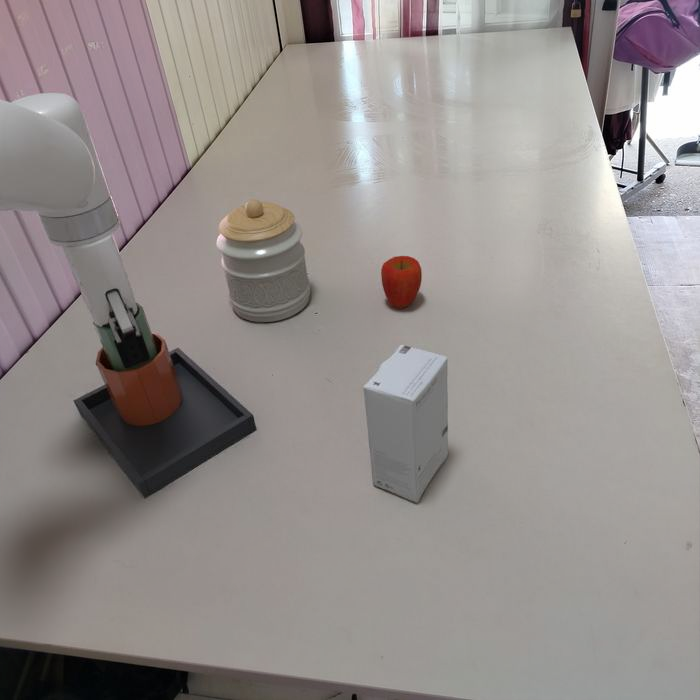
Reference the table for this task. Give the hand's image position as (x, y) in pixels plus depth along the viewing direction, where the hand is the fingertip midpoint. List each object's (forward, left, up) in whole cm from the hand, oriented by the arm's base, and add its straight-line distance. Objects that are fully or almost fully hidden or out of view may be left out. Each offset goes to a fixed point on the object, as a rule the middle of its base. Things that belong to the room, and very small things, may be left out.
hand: (129, 348), depth 79 cm
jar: (+26, +9, -10) cm, 29 cm away
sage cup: (0, 0, -3) cm, 3 cm away
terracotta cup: (0, 0, -9) cm, 9 cm away
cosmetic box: (+17, -32, -10) cm, 38 cm away
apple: (+40, -7, -10) cm, 42 cm away
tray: (0, -4, -10) cm, 11 cm away
